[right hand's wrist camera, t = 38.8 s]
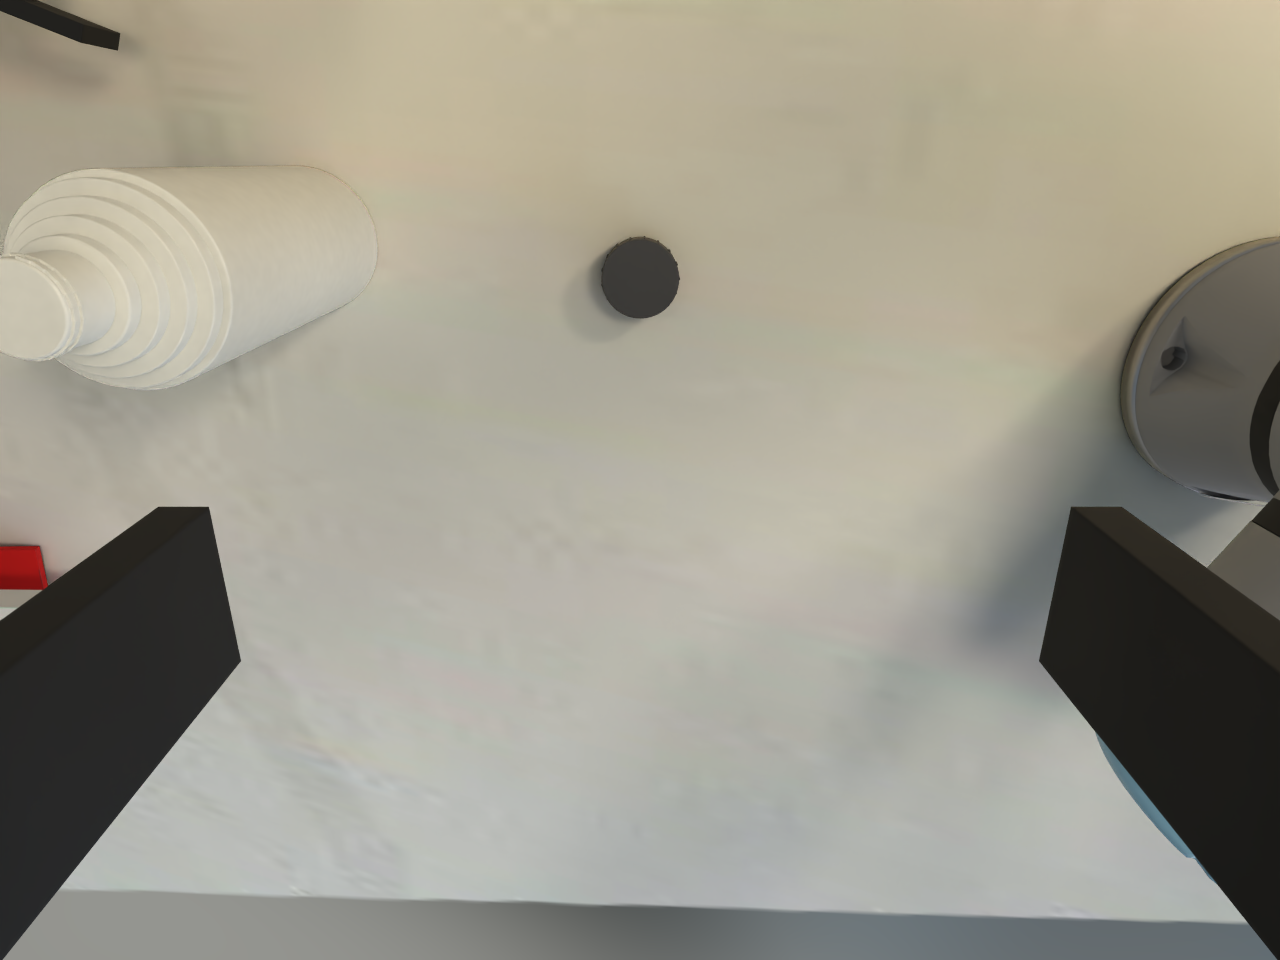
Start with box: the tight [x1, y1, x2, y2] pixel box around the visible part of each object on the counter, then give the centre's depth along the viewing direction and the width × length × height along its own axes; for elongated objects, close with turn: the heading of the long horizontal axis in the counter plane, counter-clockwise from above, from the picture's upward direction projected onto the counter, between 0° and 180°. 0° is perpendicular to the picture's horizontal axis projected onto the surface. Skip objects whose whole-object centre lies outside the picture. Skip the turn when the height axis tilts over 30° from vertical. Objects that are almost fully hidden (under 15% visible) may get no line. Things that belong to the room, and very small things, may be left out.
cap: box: [602, 236, 680, 318], centre depth 46 cm, size 4×4×2 cm
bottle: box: [0, 166, 378, 390], centre depth 35 cm, size 8×8×23 cm
